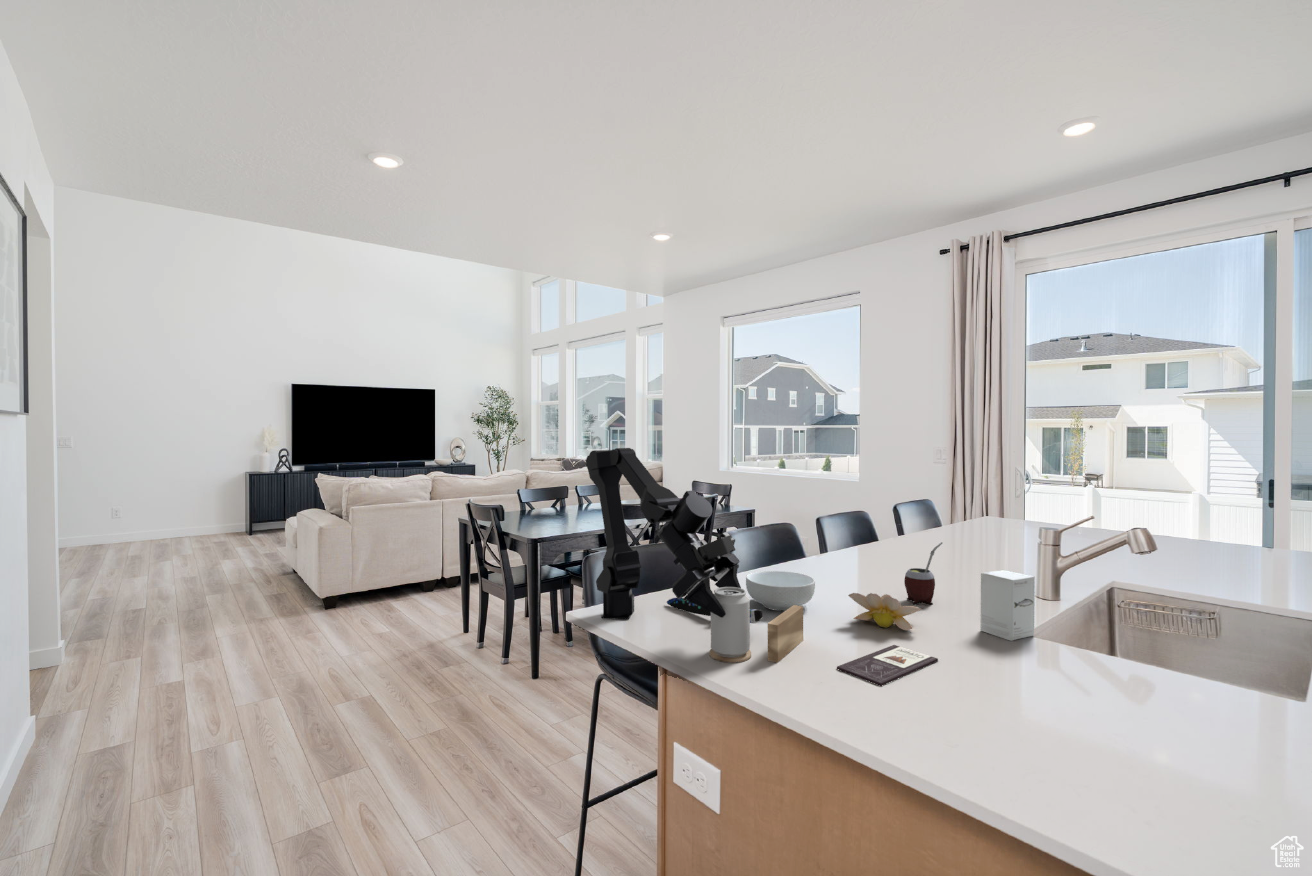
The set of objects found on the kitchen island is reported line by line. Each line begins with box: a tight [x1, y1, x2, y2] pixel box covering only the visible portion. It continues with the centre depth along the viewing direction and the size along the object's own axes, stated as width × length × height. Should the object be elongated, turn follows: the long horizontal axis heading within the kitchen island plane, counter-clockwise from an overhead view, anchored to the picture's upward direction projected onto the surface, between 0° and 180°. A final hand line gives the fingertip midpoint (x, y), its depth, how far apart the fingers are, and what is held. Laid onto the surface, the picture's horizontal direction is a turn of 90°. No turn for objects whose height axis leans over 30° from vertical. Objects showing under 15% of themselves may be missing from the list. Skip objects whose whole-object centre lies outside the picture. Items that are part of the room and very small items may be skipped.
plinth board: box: [767, 605, 804, 664], centre depth 118 cm, size 2×14×7 cm, turn 147°
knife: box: [666, 597, 764, 624], centre depth 137 cm, size 31×3×4 cm, turn 37°
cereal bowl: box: [745, 570, 816, 611], centre depth 147 cm, size 17×17×7 cm
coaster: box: [709, 647, 752, 664], centre depth 116 cm, size 8×8×1 cm
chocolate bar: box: [836, 644, 939, 687], centre depth 110 cm, size 9×1×18 cm
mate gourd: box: [904, 542, 943, 606], centre depth 150 cm, size 8×8×15 cm
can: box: [710, 587, 751, 658], centre depth 116 cm, size 8×8×12 cm
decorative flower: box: [848, 592, 922, 631], centre depth 132 cm, size 15×11×10 cm
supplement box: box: [980, 569, 1036, 642], centre depth 126 cm, size 7×7×13 cm
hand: (734, 609), depth 115 cm, fingers open, 9 cm apart
